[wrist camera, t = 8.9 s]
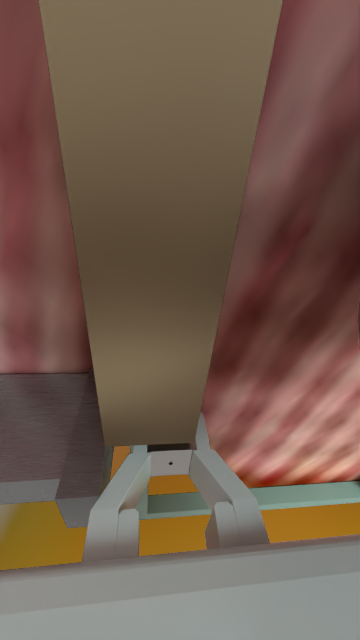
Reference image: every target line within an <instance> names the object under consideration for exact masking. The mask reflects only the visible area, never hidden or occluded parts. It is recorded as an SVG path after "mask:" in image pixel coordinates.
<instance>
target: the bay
mask: <svg viewBox="0 0 360 640" xmlns="http://www.w3.org/2000/svg"><path fill="white" fill-rule="evenodd" d="M131 453H133V445H132V446H130V454H131ZM249 490H250V491H251V493H252V494H253V495H254V496H255V497H256V498H257V502H258V505H259V508H260V510H269V509H281V508H294V507H306V506H319V505H330V504H344V503H355V502H360V481H350V482H336V483H321V484H307V485H292V486H278V487H263V488H249ZM135 509H136V510H137V511H138V512H139V520H144V519H156V518H169V517H180V516H194V515H206V514H212V512H211V510H210V508H209V507H208V505H207V504H206V502H205V501H204V499H203V497H202V496H201V494H200V493H199V492H191V493H176V494H163V495H148V484H147V486H146V488H145V490H144V492H143V494H142V496H141V498H140V500H139V502H138V504H137V506H136V508H135Z"/></svg>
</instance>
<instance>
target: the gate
mask: <svg viewBox="0 0 360 640" xmlns="http://www.w3.org/2000/svg"><path fill="white" fill-rule="evenodd" d="M113 451H114V446H110V447H105V443H104V436H103V429H102V423H101V416H100V409H99V403H98V396H97V389H96V382H95V376H94V369H93V368H90V370H89V374H3V375H0V504H13V503H28V502H43V501H56V503H57V505H58V508H59V510H60V512H61V515H62V517H63V519H64V522H65V524H66V526H67V528H75V527H87V526H88V522H89V516H90V511H91V509H92V508H93V506H94V505H95V503H96V502H97V500H98V499H99V497H100V496H101V494H102V493H103V491H104V490H105V488H106V487H107V485H108V484H109V482H110V475H111V467H112V459H113Z"/></svg>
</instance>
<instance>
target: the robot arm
mask: <svg viewBox="0 0 360 640" xmlns="http://www.w3.org/2000/svg"><path fill="white" fill-rule="evenodd" d="M182 474H189V477H190V479H191V480H192V482H193V483H194V485H195V486H196V488H197V490H198V491H199V493H200V494H201V496H202V497H203V499H204V501H205V502H206V504H207V505H208V507H209V508H210V510H211V512H212V514H211V516H210V519H209V522H208V525H207V527H206V530H205V539H206V546H207V550H198V551H188V552H178V553H168V554H159V555H148V556H139V512H138V511H137V510H136V509H135V508H136V506H137V504H138V502H139V500H140V498H141V496H142V494H143V492H144V490H145V488H146V486H147V484H148V482H149V480H150V477H151V476H152V477H153V476H162V475H182ZM0 640H360V534H356V535H346V536H337V537H326V538H317V539H306V540H296V541H286V542H277V543H270V542H269V538H268V535H267V532H266V529H265V525H264V522H263V518H262V515H261V512H260V508H259V505H258V502H257V498H256V497H255V496H254V495H253V494H252V493H251V491H250V490H249V489H248V488H247V487H246V486H245V484H244V483H243V482H242V481H241V480H240V479H239V478H238V476H237V475H236V474H235V473H234V472H233V471H232V469H231V468H230V467H229V466H228V465H227V464H226V463H225V461H224V460H223V459H222V458H221V457H220V456H219V454H218V453H217V452H216V451H215V450H214V449H210V444H209V439H208V434H207V429H206V424H205V419H204V415H203V413H202V412H200V417H199V422H198V427H197V432H196V437H195V442H194V443H177V444H154V445H133V453H131V454H128V456H127V457H126V459H125V460H124V462H123V463H122V465H121V466H120V468H119V469H118V471H117V472H116V473H115V475H114V477H113V478H112V479H111V481H110V482H109V484H108V485H107V487H106V488H105V490H104V491H103V493H102V494H101V496H100V497H99V499H98V500H97V502H96V503H95V505H94V506H93V508H92V509H91V511H90V516H89V522H88V528H87V534H86V540H85V546H84V552H83V558H82V562H79V563H69V564H59V565H50V566H39V567H30V568H19V569H9V570H0Z"/></svg>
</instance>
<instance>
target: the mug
mask: <svg viewBox="0 0 360 640" xmlns="http://www.w3.org/2000/svg"><path fill="white" fill-rule="evenodd" d="M358 340H359V348H360V303H359V310H358Z"/></svg>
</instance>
